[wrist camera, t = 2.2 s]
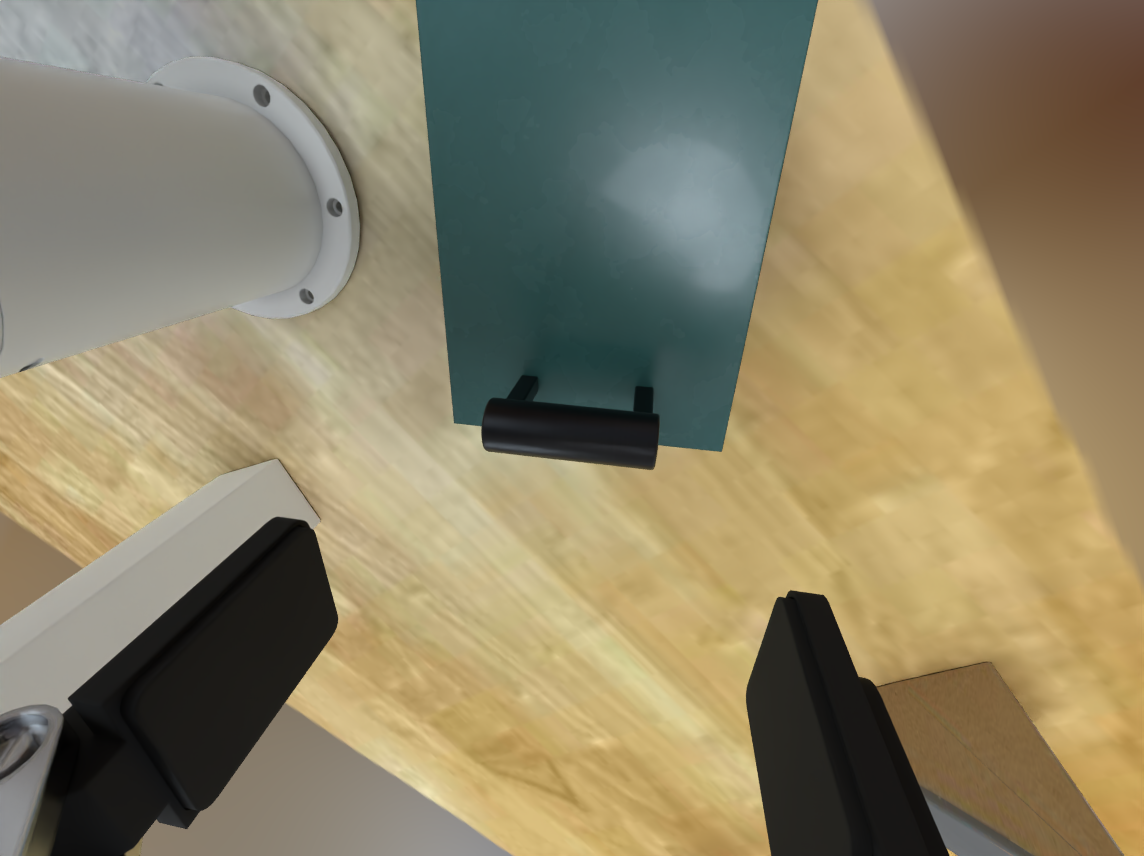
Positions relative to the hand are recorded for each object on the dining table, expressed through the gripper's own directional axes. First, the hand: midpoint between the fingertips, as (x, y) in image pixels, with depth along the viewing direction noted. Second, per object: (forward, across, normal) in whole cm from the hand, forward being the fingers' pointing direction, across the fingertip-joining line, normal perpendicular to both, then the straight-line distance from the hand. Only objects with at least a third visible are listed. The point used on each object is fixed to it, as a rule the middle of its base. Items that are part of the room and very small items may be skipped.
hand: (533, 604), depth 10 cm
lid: (+11, 0, -5) cm, 12 cm away
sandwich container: (+20, -25, +29) cm, 43 cm away
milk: (+20, +25, +15) cm, 36 cm away
